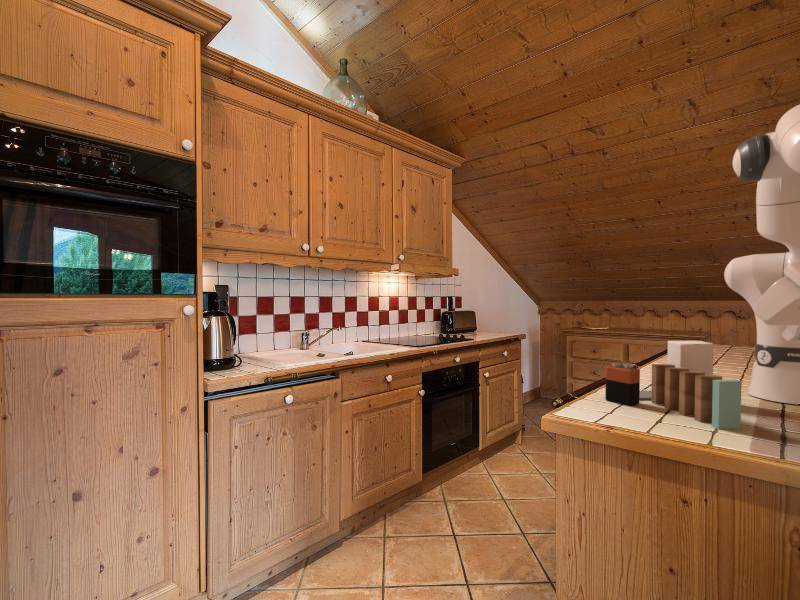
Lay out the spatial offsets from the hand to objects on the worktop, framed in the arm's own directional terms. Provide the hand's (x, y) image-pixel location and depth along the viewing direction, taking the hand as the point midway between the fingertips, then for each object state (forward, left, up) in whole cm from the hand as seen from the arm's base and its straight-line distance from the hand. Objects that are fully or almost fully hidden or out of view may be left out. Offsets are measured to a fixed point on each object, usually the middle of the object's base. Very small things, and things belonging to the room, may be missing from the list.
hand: (791, 338), depth 72 cm
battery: (+10, -32, -21) cm, 40 cm away
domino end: (0, -12, -20) cm, 24 cm away
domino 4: (0, -17, -20) cm, 27 cm away
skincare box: (-9, -32, -21) cm, 39 cm away
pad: (0, -37, -20) cm, 43 cm away
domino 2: (0, -26, -20) cm, 33 cm away
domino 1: (0, -30, -20) cm, 37 cm away
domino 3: (0, -21, -20) cm, 30 cm away
